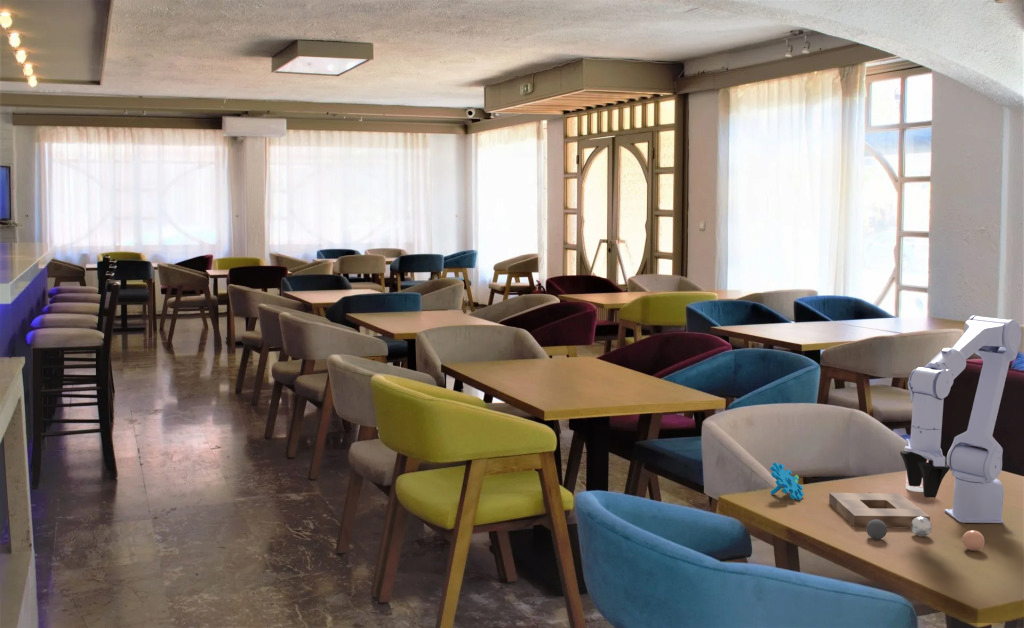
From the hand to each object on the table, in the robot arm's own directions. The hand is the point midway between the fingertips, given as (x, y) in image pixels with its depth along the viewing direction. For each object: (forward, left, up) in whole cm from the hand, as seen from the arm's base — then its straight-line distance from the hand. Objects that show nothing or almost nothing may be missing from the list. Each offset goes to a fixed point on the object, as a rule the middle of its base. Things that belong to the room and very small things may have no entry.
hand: (922, 491), depth 202 cm
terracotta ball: (-7, +8, -7) cm, 13 cm away
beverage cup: (-13, -33, -10) cm, 37 cm away
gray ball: (+10, +2, -7) cm, 12 cm away
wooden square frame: (+4, -13, -9) cm, 16 cm away
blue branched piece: (+20, -26, -10) cm, 34 cm away
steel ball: (0, 0, -7) cm, 7 cm away
